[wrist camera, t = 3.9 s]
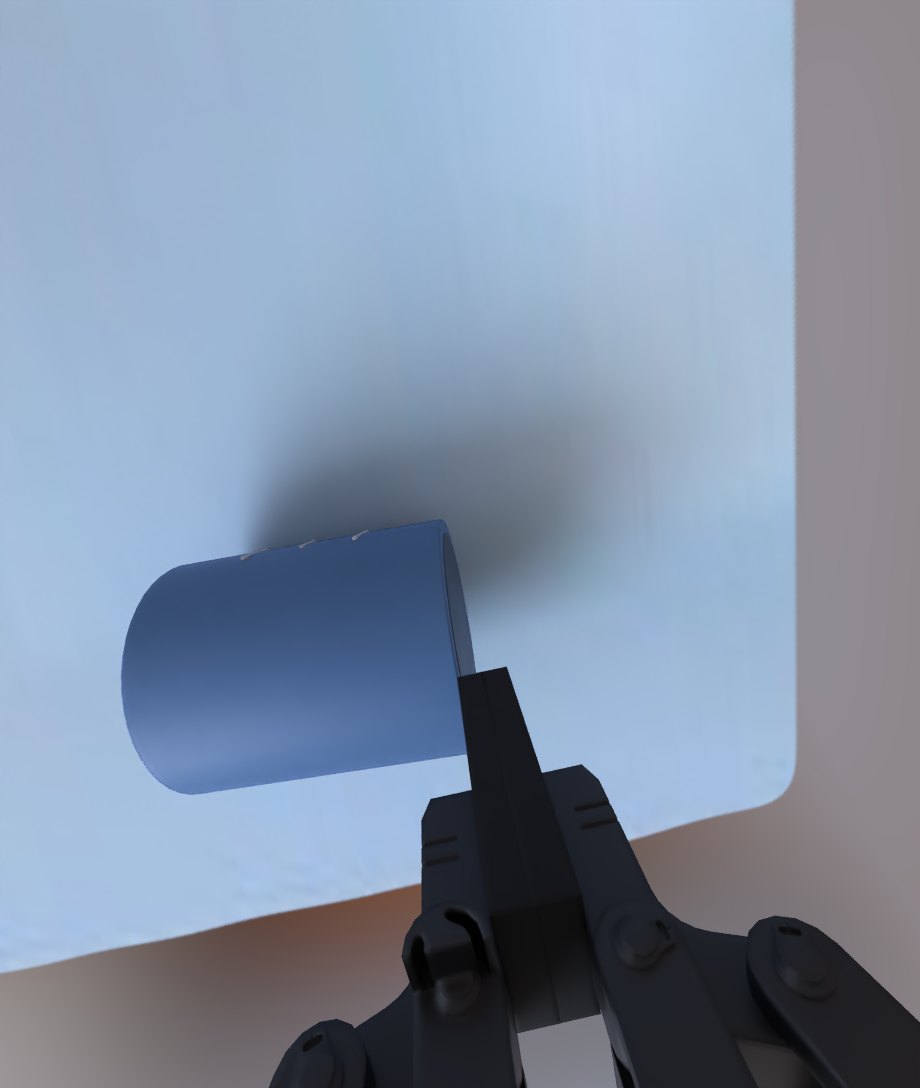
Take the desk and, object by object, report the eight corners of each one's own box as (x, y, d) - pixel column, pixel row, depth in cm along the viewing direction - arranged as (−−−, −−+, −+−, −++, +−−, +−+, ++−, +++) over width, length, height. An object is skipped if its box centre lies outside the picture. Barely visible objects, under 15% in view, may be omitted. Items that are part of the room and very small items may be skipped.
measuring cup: (276, 718, 23) (164, 855, 15) (234, 548, 22) (86, 593, 14) (481, 686, 22) (484, 810, 14) (448, 510, 21) (432, 532, 13)
